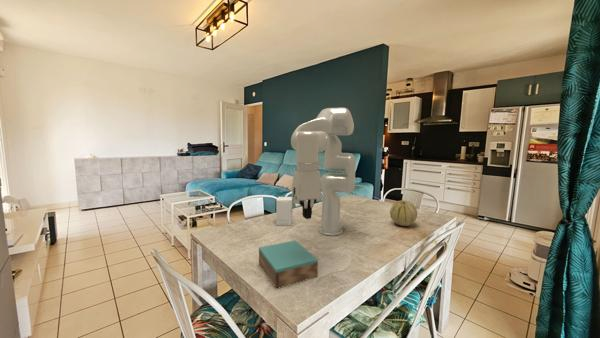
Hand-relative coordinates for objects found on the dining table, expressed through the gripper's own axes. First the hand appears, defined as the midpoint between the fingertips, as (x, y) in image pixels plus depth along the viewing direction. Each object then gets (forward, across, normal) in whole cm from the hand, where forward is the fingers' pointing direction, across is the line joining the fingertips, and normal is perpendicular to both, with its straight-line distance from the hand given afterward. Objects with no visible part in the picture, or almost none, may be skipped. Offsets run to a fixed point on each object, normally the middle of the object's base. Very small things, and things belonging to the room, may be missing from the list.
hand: (307, 217), depth 88 cm
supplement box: (+23, -14, -53) cm, 60 cm away
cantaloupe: (+23, -75, -20) cm, 81 cm away
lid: (+16, +6, -5) cm, 18 cm away
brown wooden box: (+21, +6, -5) cm, 23 cm away
